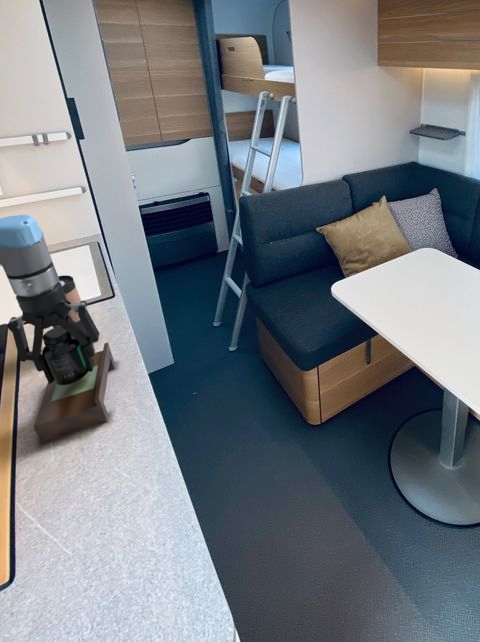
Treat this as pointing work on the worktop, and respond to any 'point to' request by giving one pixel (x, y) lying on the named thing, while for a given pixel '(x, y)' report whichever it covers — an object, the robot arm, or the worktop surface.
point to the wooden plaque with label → (75, 402)
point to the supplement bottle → (63, 356)
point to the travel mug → (71, 297)
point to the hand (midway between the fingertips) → (72, 373)
